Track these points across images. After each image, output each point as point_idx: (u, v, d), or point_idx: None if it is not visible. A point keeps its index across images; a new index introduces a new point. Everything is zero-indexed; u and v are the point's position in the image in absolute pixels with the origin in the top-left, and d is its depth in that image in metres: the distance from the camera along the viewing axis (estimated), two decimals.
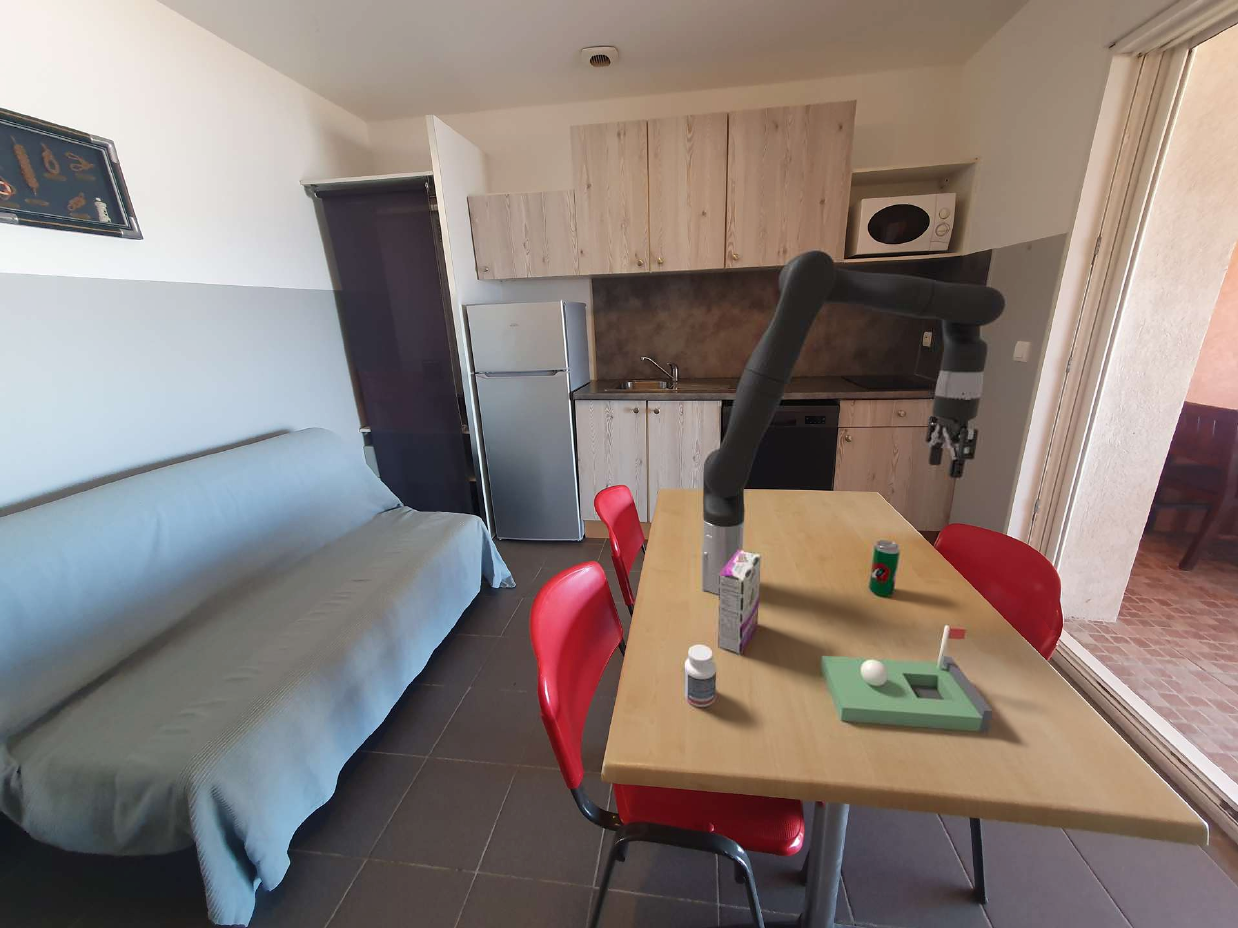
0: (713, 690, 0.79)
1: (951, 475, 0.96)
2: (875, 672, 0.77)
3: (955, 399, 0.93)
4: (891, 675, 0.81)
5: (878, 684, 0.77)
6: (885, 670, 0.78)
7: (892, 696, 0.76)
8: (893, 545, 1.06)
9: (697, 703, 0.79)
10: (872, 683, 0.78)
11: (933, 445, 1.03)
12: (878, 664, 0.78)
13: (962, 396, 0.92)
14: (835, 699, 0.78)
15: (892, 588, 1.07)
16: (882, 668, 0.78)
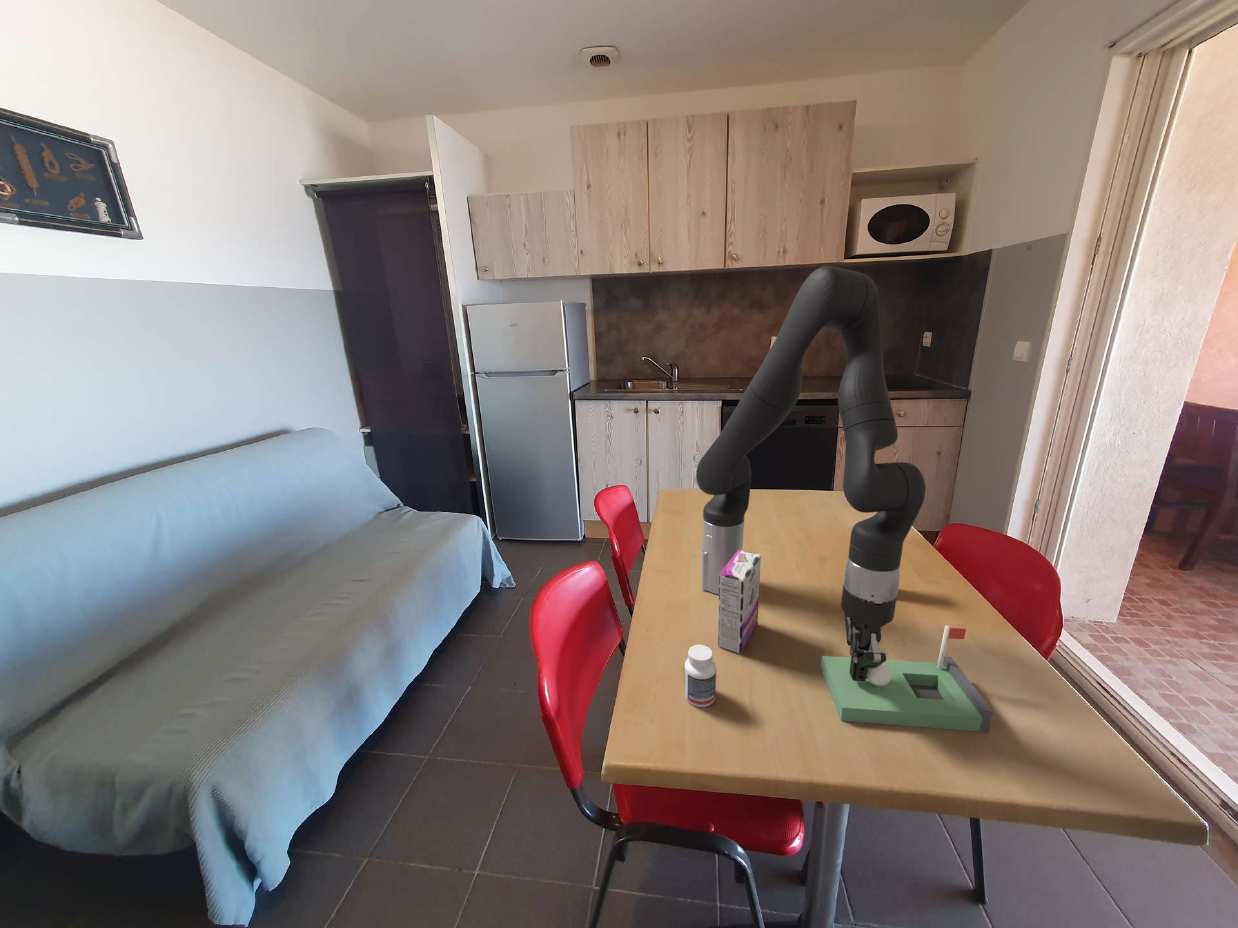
0: (713, 690, 0.79)
1: (853, 678, 0.79)
2: (880, 672, 0.77)
3: (863, 600, 0.72)
4: (891, 675, 0.81)
5: (880, 684, 0.77)
6: (890, 672, 0.78)
7: (892, 696, 0.76)
8: None
9: (697, 703, 0.79)
10: (875, 682, 0.78)
11: (854, 651, 0.78)
12: (884, 665, 0.78)
13: (871, 598, 0.71)
14: (835, 699, 0.78)
15: None
16: (887, 669, 0.77)
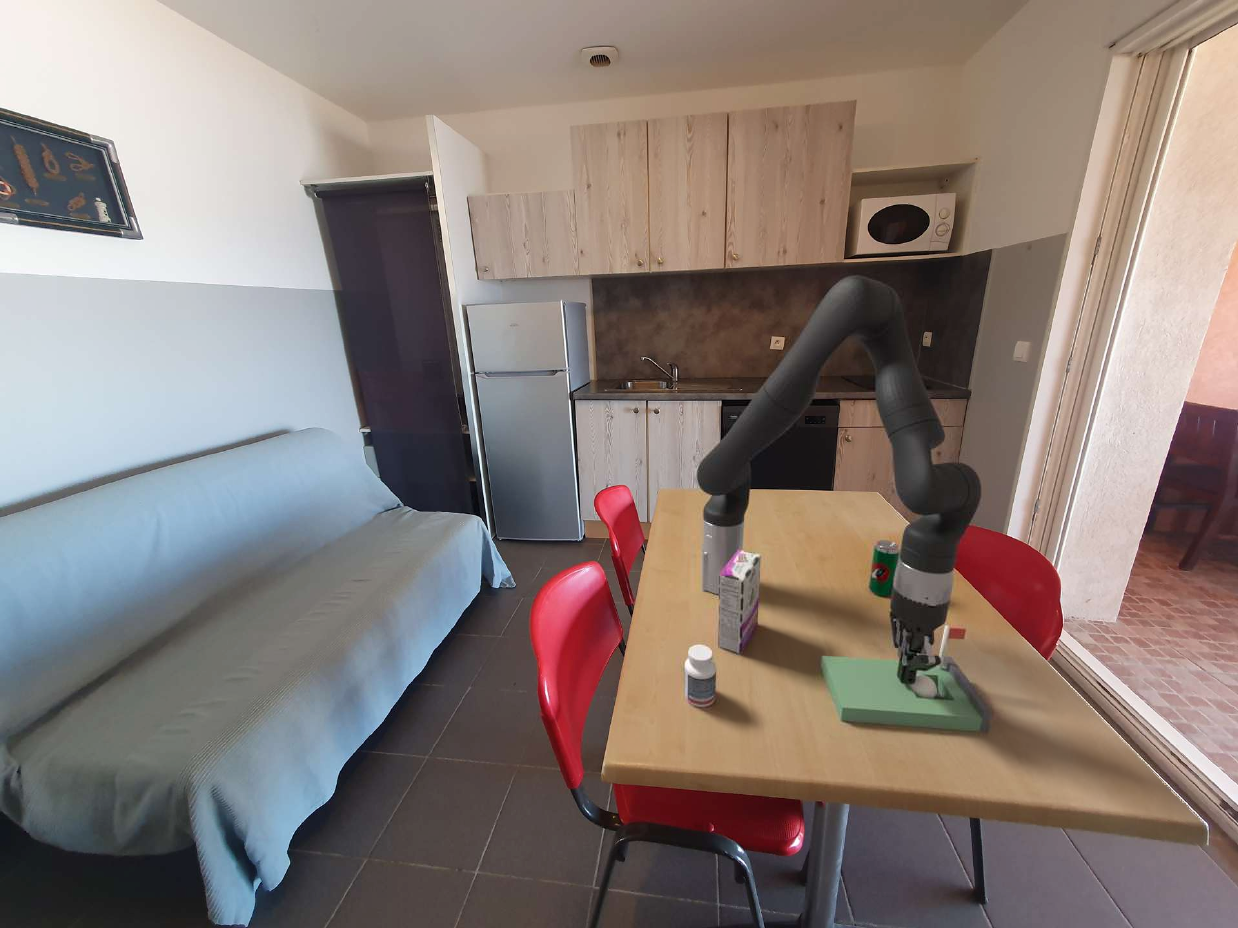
0: (713, 690, 0.79)
1: (902, 680, 0.78)
2: None
3: (917, 603, 0.71)
4: (891, 675, 0.81)
5: (931, 691, 0.77)
6: None
7: (892, 696, 0.76)
8: (893, 545, 1.06)
9: (697, 703, 0.79)
10: (934, 694, 0.77)
11: (902, 654, 0.78)
12: None
13: (926, 601, 0.70)
14: (835, 699, 0.78)
15: (892, 588, 1.07)
16: None
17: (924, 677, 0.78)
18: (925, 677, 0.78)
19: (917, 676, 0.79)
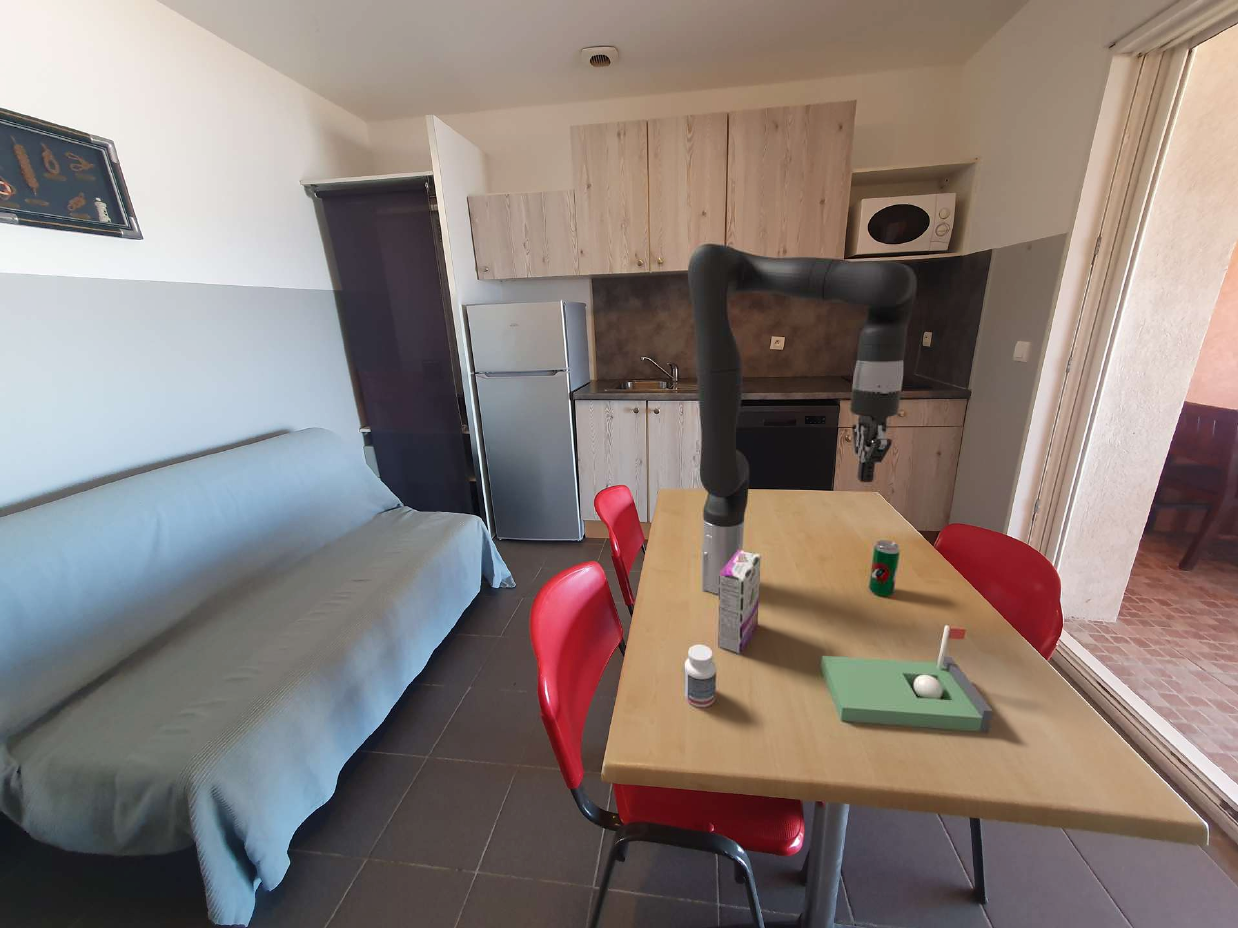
0: (713, 690, 0.79)
1: (861, 479, 0.87)
2: None
3: (871, 393, 0.80)
4: (891, 675, 0.81)
5: (938, 693, 0.76)
6: (919, 687, 0.78)
7: (892, 696, 0.76)
8: (893, 545, 1.06)
9: (697, 703, 0.79)
10: (939, 697, 0.77)
11: (862, 455, 0.87)
12: (916, 691, 0.78)
13: (878, 389, 0.79)
14: (835, 699, 0.78)
15: (892, 588, 1.07)
16: (918, 691, 0.78)
17: (934, 678, 0.78)
18: (935, 679, 0.78)
19: (927, 676, 0.78)
